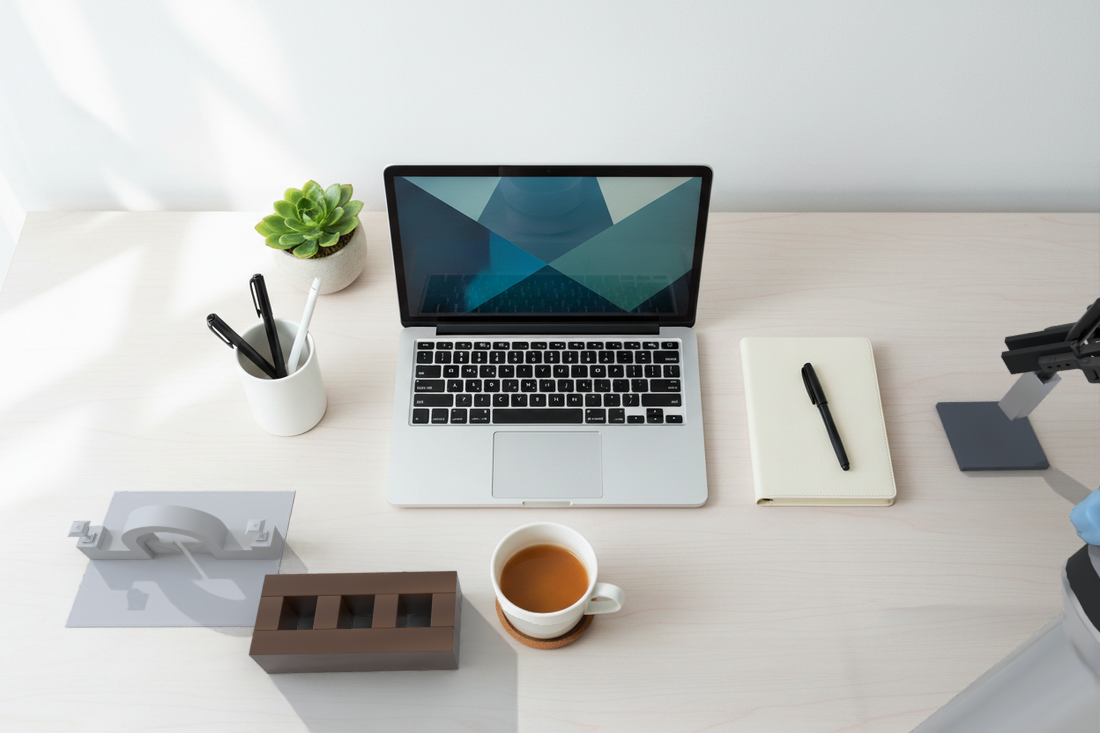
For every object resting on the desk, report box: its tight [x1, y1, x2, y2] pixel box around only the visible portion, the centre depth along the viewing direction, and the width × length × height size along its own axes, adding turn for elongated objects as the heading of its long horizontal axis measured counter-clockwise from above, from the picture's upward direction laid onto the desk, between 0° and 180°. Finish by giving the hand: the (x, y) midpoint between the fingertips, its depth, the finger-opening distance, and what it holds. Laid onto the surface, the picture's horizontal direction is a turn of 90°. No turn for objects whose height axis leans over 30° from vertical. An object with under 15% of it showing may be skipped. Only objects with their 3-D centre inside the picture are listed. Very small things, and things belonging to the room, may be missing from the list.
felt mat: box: [935, 400, 1051, 472], centre depth 92 cm, size 9×10×1 cm
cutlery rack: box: [248, 570, 463, 675], centre depth 75 cm, size 8×18×6 cm, turn 91°
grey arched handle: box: [66, 503, 286, 560], centre depth 79 cm, size 20×2×8 cm, turn 90°
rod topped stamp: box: [998, 297, 1100, 421], centre depth 80 cm, size 2×2×18 cm
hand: (1008, 355), depth 82 cm, fingers closed on rod topped stamp, 1 cm apart
